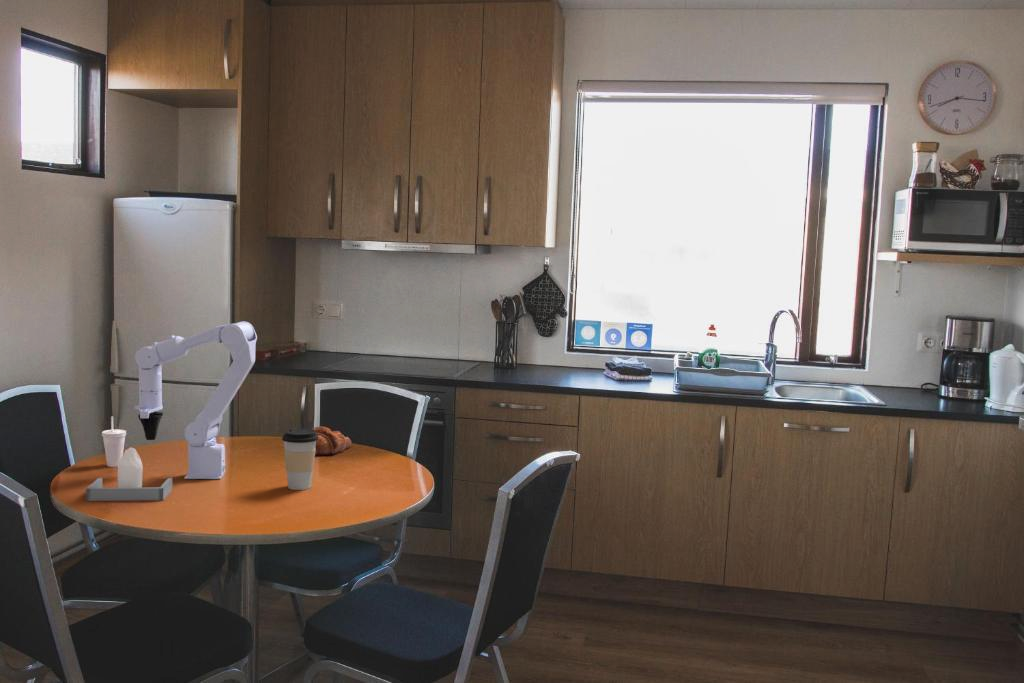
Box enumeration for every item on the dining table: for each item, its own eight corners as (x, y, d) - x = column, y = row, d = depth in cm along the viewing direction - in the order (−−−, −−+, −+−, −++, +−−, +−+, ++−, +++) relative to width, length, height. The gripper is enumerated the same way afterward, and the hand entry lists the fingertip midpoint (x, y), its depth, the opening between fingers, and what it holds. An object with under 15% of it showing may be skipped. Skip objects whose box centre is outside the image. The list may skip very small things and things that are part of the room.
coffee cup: (279, 483, 242) (279, 428, 241) (315, 481, 246) (315, 427, 244) (283, 493, 233) (284, 435, 232) (320, 490, 237) (321, 434, 235)
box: (172, 489, 233) (172, 478, 233) (163, 500, 224) (163, 488, 223) (98, 489, 231) (98, 478, 230) (86, 500, 221) (85, 488, 220)
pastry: (303, 445, 289) (303, 420, 288) (352, 446, 290) (352, 421, 289) (294, 457, 272) (294, 431, 271) (346, 458, 273) (346, 432, 272)
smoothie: (96, 465, 254) (96, 416, 252) (116, 461, 259) (115, 413, 258) (112, 469, 251) (111, 419, 249) (131, 464, 256) (131, 416, 255)
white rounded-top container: (131, 443, 231) (147, 446, 228) (132, 489, 232) (147, 492, 230) (112, 447, 226) (128, 450, 223) (112, 494, 227) (128, 498, 224)
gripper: (141, 385, 252) (142, 433, 254) (127, 394, 238) (128, 445, 239) (168, 386, 253) (168, 433, 255) (156, 394, 239) (156, 445, 240)
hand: (151, 439), depth 247 cm, fingers closed
